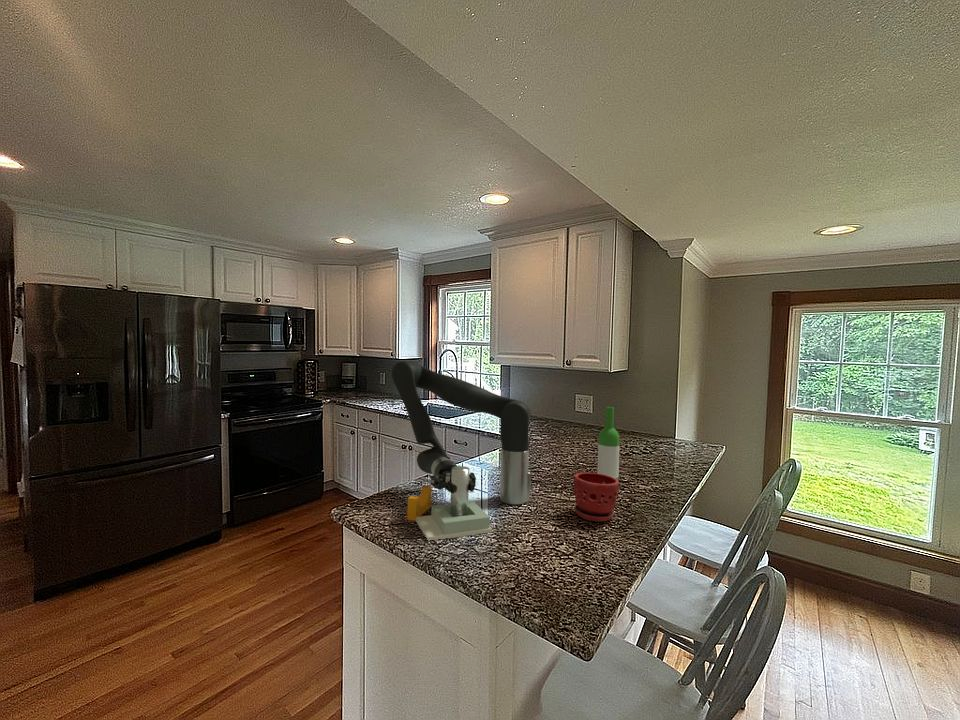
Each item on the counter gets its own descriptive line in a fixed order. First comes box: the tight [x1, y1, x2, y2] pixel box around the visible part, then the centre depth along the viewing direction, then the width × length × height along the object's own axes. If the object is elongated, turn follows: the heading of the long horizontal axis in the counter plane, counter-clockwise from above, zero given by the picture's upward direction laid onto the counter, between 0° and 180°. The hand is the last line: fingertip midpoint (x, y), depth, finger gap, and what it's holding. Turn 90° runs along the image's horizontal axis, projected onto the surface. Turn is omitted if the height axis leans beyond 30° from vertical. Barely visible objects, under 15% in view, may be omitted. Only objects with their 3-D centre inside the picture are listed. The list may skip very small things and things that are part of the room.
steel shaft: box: [449, 465, 470, 517], centre depth 115 cm, size 5×5×13 cm
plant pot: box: [573, 472, 620, 522], centre depth 125 cm, size 13×13×12 cm
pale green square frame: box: [415, 500, 493, 542], centre depth 115 cm, size 18×14×4 cm
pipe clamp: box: [406, 485, 433, 522], centre depth 124 cm, size 12×4×6 cm, turn 165°
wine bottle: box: [596, 406, 620, 484], centre depth 158 cm, size 8×8×30 cm
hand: (463, 489), depth 113 cm, fingers closed on steel shaft, 5 cm apart
